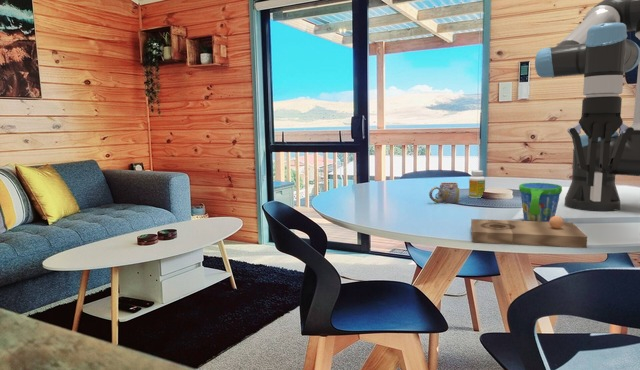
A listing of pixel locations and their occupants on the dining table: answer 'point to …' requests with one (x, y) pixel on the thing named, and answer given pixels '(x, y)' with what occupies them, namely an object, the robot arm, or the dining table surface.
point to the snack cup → (539, 200)
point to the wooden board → (527, 233)
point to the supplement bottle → (476, 184)
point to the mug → (446, 193)
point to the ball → (556, 222)
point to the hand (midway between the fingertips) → (595, 200)
